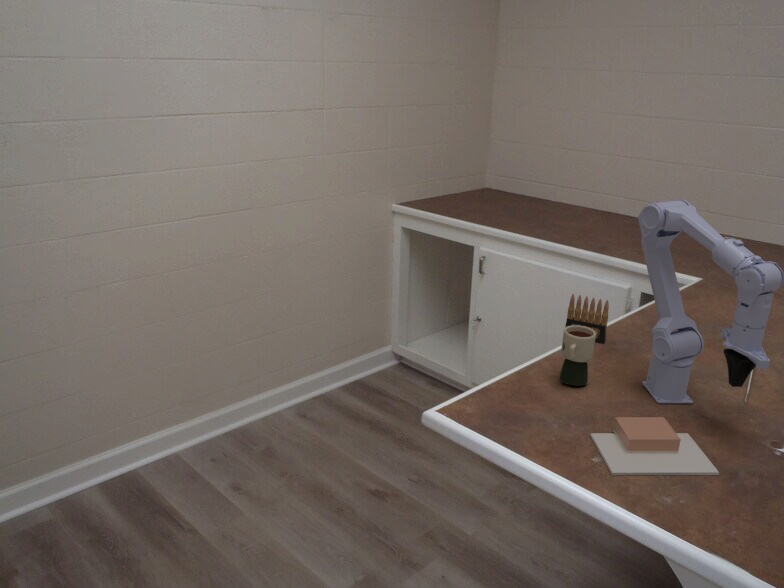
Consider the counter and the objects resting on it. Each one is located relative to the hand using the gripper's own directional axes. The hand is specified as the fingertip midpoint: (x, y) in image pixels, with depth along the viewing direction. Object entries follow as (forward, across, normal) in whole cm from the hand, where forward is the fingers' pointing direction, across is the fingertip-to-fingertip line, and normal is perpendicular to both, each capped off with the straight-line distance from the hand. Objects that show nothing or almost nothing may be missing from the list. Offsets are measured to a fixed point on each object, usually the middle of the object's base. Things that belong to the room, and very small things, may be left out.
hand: (735, 385), depth 135 cm
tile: (+8, +1, -19) cm, 21 cm away
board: (+10, +9, -19) cm, 23 cm away
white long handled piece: (+11, -28, +19) cm, 35 cm away
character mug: (+10, -20, -26) cm, 35 cm away
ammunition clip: (+10, -44, -16) cm, 48 cm away
